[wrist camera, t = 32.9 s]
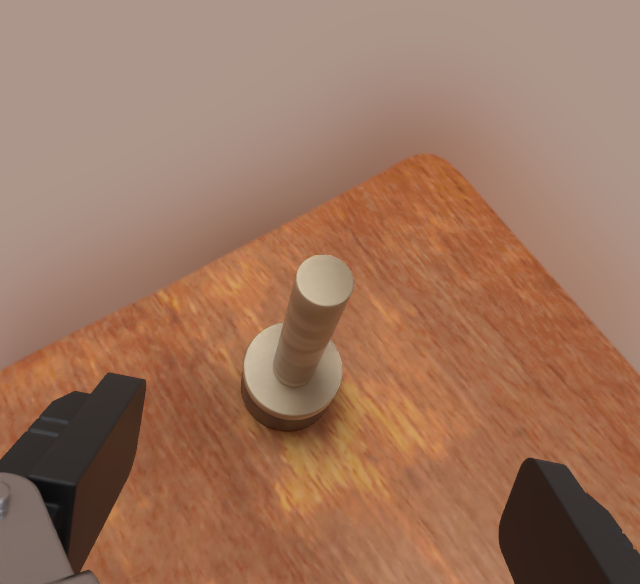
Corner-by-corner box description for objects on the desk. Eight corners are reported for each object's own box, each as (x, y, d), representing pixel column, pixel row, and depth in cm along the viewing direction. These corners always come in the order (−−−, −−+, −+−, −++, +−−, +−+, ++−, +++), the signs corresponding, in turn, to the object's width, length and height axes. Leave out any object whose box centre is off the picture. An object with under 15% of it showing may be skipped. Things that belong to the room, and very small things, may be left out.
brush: (255, 443, 35) (280, 359, 22) (230, 356, 37) (240, 235, 24) (344, 416, 36) (412, 324, 24) (315, 334, 38) (364, 211, 26)
